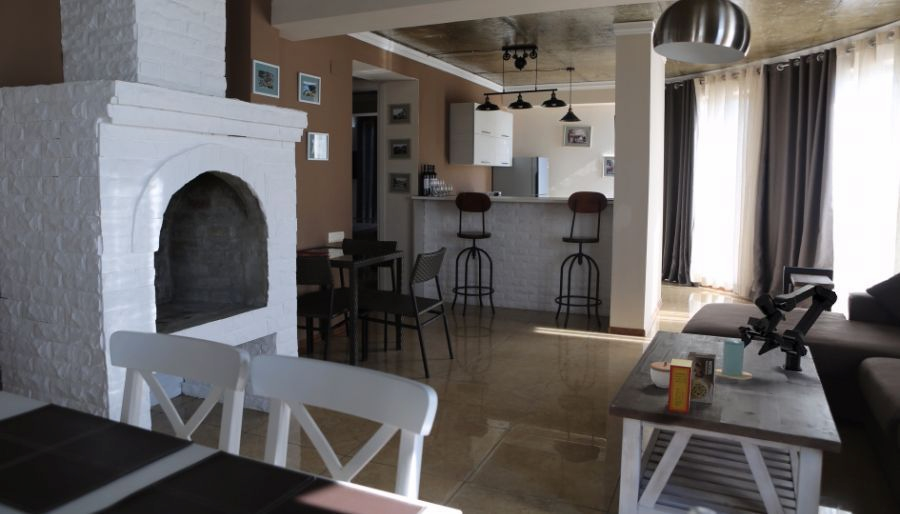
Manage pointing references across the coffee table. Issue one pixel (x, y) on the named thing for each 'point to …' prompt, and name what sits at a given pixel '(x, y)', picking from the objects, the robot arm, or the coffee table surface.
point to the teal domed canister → (733, 357)
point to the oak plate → (744, 376)
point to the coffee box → (702, 377)
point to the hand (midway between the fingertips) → (749, 352)
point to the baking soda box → (680, 385)
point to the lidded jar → (660, 373)
